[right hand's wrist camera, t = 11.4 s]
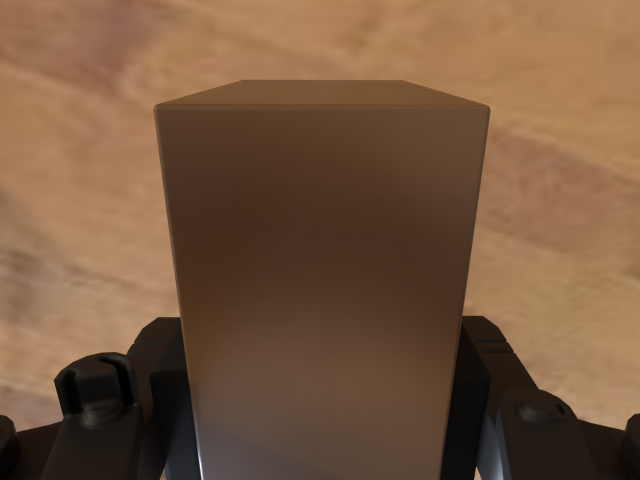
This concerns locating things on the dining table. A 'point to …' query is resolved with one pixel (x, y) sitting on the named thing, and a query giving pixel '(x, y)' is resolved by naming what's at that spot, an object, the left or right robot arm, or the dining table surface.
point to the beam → (321, 271)
